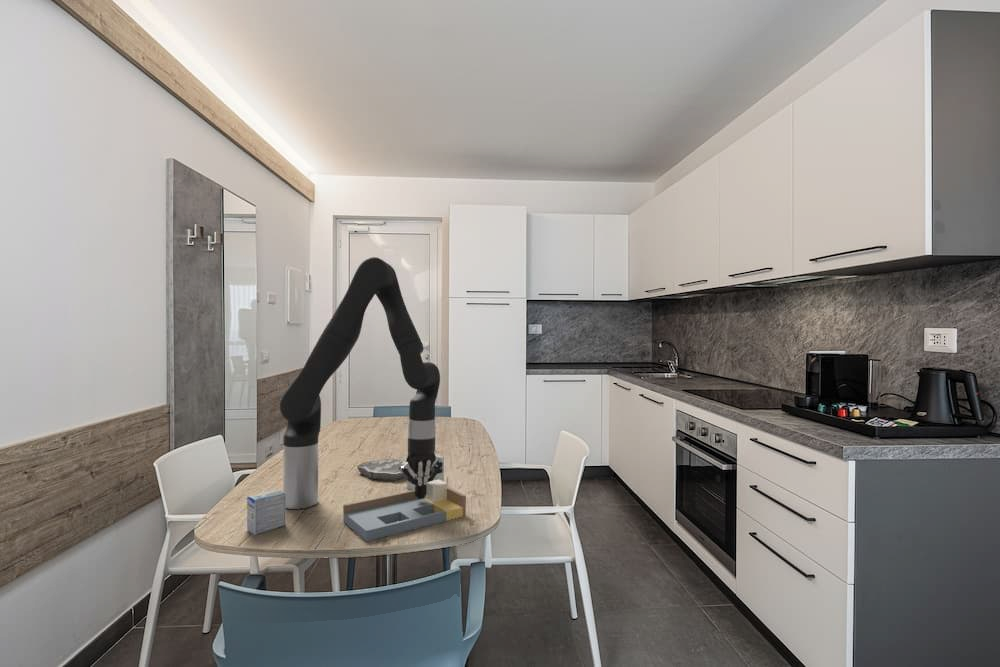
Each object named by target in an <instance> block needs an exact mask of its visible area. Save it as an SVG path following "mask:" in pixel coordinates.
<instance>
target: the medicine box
mask: <svg viewBox="0 0 1000 667" xmlns="http://www.w3.org/2000/svg"><path fill="white" fill-rule="evenodd" d="M246 502H247V503H246V530H247V531H248V532H249V533H251V534H252V533H253V534H252V535H254V536H255V535H256V536H257V535H260V534H263V533H265V531H266V532H268V530H269V531H272V530H275V529H277V528H278V527H279V528H282V527H285V526H286V525H287V524H286V521H287V520H286V516H287V514H286V513H287V512H286V509H287V508H286V493H285V492H283V490H281V489H278V488H276V489H272V490H268V491H267V490H266V491H264V492H260V493H256V494H251V495H248V496H247V498H246ZM284 525H285V526H284ZM281 526H282V527H281ZM279 528H278V529H279ZM262 532H263V533H262ZM259 533H260V534H259Z"/></svg>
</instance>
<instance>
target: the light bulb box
mask: <svg viewBox="0 0 1000 667" xmlns="http://www.w3.org/2000/svg"><path fill="white" fill-rule="evenodd" d="M435 456H436V459H437V460H438V461H440V462H442V463H443V465H442V467H441V468H440V470H439V471H438V473H437V475H436V476H435V478H434V479H433V480H438V479H439V480H441V481H443V482H445V457H444V456H442V455H438V454H435ZM407 457H408V453H407V454H406V458H407ZM431 467H432V466H431ZM409 469H410V471H409V473H410V474H411V475H412V476H413V471H412V469H411V468H410V467H409ZM430 469H431V468H430ZM413 478H414V476H413ZM406 488H407V489H410V490H411V491H412V490H415V485H413V484H412V483H410V482H408V480H407V479H406Z"/></svg>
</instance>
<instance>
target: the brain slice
mask: <svg viewBox="0 0 1000 667" xmlns="http://www.w3.org/2000/svg"><path fill="white" fill-rule="evenodd" d="M405 463H406V460H401V459H397V458H392V459H379V460H373V461H366V462H363V463H360V464H358V465H357V466H356V468H357V470H358V471H359V472H360V474H361V475H362V474H363V476H365V475H366V476H365V477H367V476H368V477H367V478H369V477H370V479H373V478H374V479H373V480H377V479H379V480H378V481H388V480H394V481H398V480H399V479H402V477H403V478H405V477H404V475H403V474H402V473H401V471H400V470H399V467H400V466H403V465H404V464H405ZM382 479H383V480H382ZM397 479H398V480H397Z"/></svg>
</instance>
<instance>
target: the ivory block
mask: <svg viewBox="0 0 1000 667" xmlns="http://www.w3.org/2000/svg"><path fill="white" fill-rule="evenodd" d="M447 487H448V483H447V482H446V481H444V482H443V481H441V480H439V479H438V480H433V481H430V482H428V483H427V490H426V496H425V498H426V499H428V500H429V501H431V502H437V501H441V500H446V499H447Z"/></svg>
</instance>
